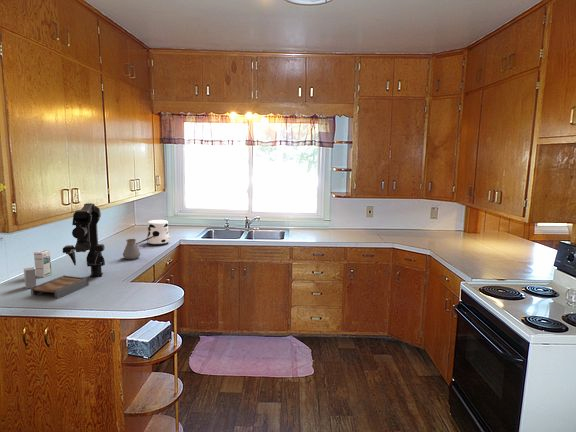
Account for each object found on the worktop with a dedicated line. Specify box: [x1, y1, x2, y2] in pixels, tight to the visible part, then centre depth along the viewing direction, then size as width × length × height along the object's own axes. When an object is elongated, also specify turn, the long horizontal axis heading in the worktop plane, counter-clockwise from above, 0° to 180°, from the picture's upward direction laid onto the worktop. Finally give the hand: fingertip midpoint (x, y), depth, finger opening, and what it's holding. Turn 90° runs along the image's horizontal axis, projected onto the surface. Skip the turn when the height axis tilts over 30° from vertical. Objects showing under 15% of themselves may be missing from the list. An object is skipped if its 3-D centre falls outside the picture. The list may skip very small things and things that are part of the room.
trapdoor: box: [34, 277, 82, 294], centre depth 210 cm, size 19×12×4 cm, turn 166°
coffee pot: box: [122, 236, 155, 260], centre depth 276 cm, size 21×12×15 cm, turn 108°
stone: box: [23, 266, 37, 290], centre depth 215 cm, size 4×4×10 cm
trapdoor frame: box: [30, 275, 90, 300], centre depth 211 cm, size 22×16×4 cm
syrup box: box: [33, 249, 52, 278], centre depth 234 cm, size 6×6×14 cm
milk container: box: [146, 219, 171, 246], centre depth 318 cm, size 17×17×18 cm
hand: (84, 264), depth 208 cm, fingers open, 9 cm apart
